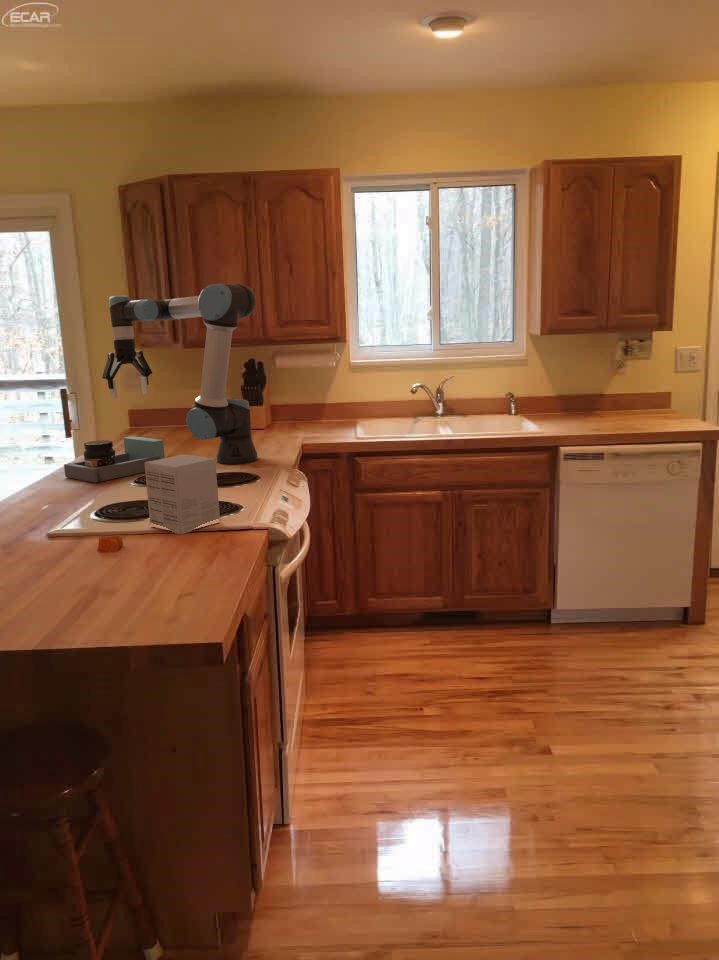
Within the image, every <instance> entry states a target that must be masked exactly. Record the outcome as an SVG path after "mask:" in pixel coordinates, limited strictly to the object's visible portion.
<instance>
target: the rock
mask: <svg viewBox="0 0 719 960" xmlns="http://www.w3.org/2000/svg"><path fill="white" fill-rule="evenodd" d="M123 545H124V540H123V538H122V536H121V535H120V534H118V535H116V534H113V535H112V536H105V535H99V536H98V545H97V552H99V553H114V552H118V551H120V548H121V547H123Z"/></svg>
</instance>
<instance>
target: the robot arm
mask: <svg viewBox="0 0 719 960" xmlns="http://www.w3.org/2000/svg"><path fill="white" fill-rule="evenodd" d="M108 301H109V302H108V303H109V306H108V307H109V308H108V309H109V311H110V312H109V314H110V321H111V330H112V337H113V339H114V340H113V348H114V350H115V352H108V353H107V360H106V363H105V366H104V370H103V373H102V377H101V378H102V380H106V381H107V385H108V389H109V390H110V395H111V396H110V397H111V399H114V398H115V399H117V398H118V392H117V382H116V380H115V379H114V378H115V377H116V375H117V373H118V372H119V370H120V368H121V366H123V365H127V364H128V365H132V366H133V367H134V368H135V369H136V370H137V371H138V372H139V374H140V375H141V376H140V383H141V384H140V385H141V393H142V394H143V395H148V394H149V389H148V385H149V383H150V381H149V377H150V376H151V375H152V374H153V371H152V369H151V367H150V365H149V363H148V361H147V360H146V358H145V356H144V353H143V350H135V348H136V343H135V342H136V341H135V339H134V337H135V334H134V333H135V331H134V324H133V322H155V321H156V322H158V321H176V320H181V319H191V318H201V317H203V318H202V319H203V320H202V323H203V324H204V325H205V326H206V327H205V328H206V336H205V345H204V356H203V364H202V374H201V382H200V392H199V395H198V396H197V397H195V399H194V406H193V408H191V409H190V410H189V411H188V412H187V413H186V419H185V422H186V426H187V429H188V431H189V432H190V433H191V435H192V436H193V437H194V438H196V439H198V440H199V441H200V440H201V441H205V440H207V441H209V440H213V439H216V438H219V444H218V450H217V453H216V463H218V464H222V465H224V464H225V465H239V464H247V463H248V464H249V463H253V462H256V461H257V460H258V452H257V450H256V447H255V445H254V441H253V438H252V437H253V436H252V423H251V408H250V402H249V400H247V399H235V398H233V399H232V398H226V391H227V390H226V389H227V383H228V381H227V380H228V375H229V374H228V372H229V364H230V354H231V346H232V338H233V331H234V330H236V329H237V328H238V324H239V319H244V318H245V319H246V318H247V317H249V316H250V315H252V314H253V313H254V311H255V309H256V308H257V307H256V306H257V298H256V295H255V293H254V291H253V290H252V288H250V287H249V286H247V285H245V284H240V283H236V284H234V283H213V284H209V285H207V286H206V287H204V288H203V289H202V290H201V291H200V294H199V295H193V296H187V297H176V298H167V299H148V298H147V299H139V300H138V299H137V300H136V299H135V300H131V297H130V296H129V295H118V296H117V295H114V296H113V295H112V296H110V297H109V299H108ZM115 359H116V360H115ZM137 359H138V360H137Z"/></svg>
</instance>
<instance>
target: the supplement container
mask: <svg viewBox="0 0 719 960" xmlns="http://www.w3.org/2000/svg"><path fill="white" fill-rule="evenodd" d="M113 442H114V441H112V439H111V440H110V439H100V440H98V439H97V440H90V441H86V442H84V443H83V450H84V451H83V453H82V455H83V458H84V460H83V461H85V466H88V467H94V468H97V467H102V466H107V465H112V464H116V458H115V454H116V450H115V449H114V448H113V447H114V443H113Z"/></svg>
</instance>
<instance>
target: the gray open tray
mask: <svg viewBox="0 0 719 960" xmlns="http://www.w3.org/2000/svg"><path fill="white" fill-rule="evenodd" d="M123 445H124V447H123V448H124V452H121V453H115V458H116V464H112V465H107V466H102V467H97V468H94V467H88V466H85V461H84V460H81V461H80V460H79V461H74V462H69V463H64V464H63V467H64V476H65V478H68V479H72V480H73V479H74V480H78V481H85V482H89V483H93V484H94V483H101V482H104V481H110V480H114V479H120V478H124V477H128V476H132V475H137V474H141V473H145V464H144V462H149V461H154V460H159V459H164V458H166V455H165V444H164V439H159V438H149V437H140V436H133V435H132V436H127V437H123Z"/></svg>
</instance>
